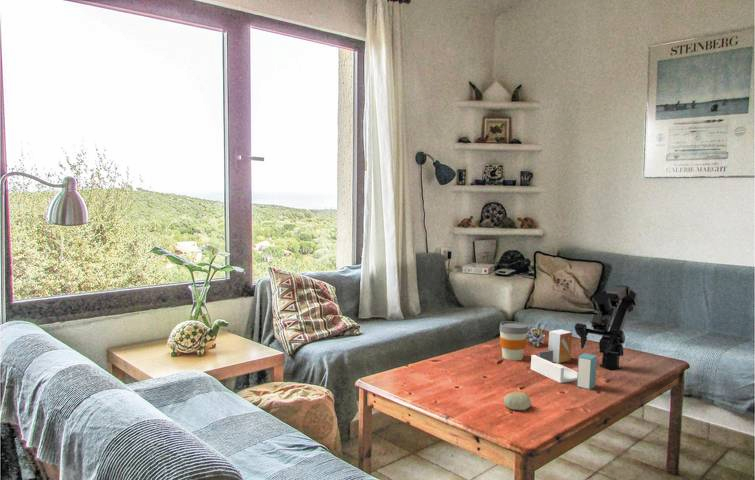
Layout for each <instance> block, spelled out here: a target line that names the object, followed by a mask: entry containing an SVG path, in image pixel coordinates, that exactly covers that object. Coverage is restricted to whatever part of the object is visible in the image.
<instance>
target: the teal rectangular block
mask: <svg viewBox="0 0 755 480" xmlns="http://www.w3.org/2000/svg"><path fill="white" fill-rule="evenodd" d="M597 359H598V356H597V355H595V354H590V353H585V352H584V353H581V354H580V355H578V356H577V372H578V374H577V380H576V387H577V388H581V389H583V390H584V389H585V390H588V391H590V390H592V389H593V388H594V387H596V377H597Z"/></svg>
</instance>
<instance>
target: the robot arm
mask: <svg viewBox="0 0 755 480" xmlns="http://www.w3.org/2000/svg"><path fill="white" fill-rule="evenodd" d="M593 300H594V304H595V306H596V309H597V311H598V313H597V314H591V316H590V322H589V323H591V327H592V328H591V327H587V324H586V323H580V322H577V323H575V325H574V330H575V333H576V335H577V336H579V338H580V345H581V346H580V348H581V349H582V350H583V349H584V347H585V345H586V342H587V339H588V337H587V336H588V334H590V335H591V334H593V335H597V336H601V338H600V339H599V341H598V342H599V343H598V344H599V345H598V346H599V347H598V348H599V353H602V357H601V363H600V364H599V367H602V368H604V369H607V370H609V371H613V370H614V371H615V370H620V369H621V370H622V366H620V357H622V356H624V352H625V351H624V350H625V349H624V346H623V344H625V341H626V336H625V333H624V331H623V329H624V326H625V324H626V320H627V318H628V315H629V313H631V312H632V311H634V310H635V308H636V306H637V305H638V301H639V300H638V295H637V293H636V292H635V291H633V290H632V289H631V287H630V286H628V285H622V284H621V285H620V284H619V285H617V286H616V288H615V289H612V291H606V290H601V292H599V293H596V294H595V295H594V297H593ZM614 308H617V309H616V312H615V309H614Z"/></svg>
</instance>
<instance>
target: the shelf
mask: <svg viewBox="0 0 755 480" xmlns="http://www.w3.org/2000/svg"><path fill="white" fill-rule="evenodd" d="M537 354H538V355H536V354H531V355H530V356H531V357H530V359H531V360H530V370H531V371H534V372H536V373H538V374H541V375H542V376H544V377H547V378H549V379H551V380H553V381H555V382H558V383H559V384H562V383H563V384H564V383H568V382H575V381H576V382H577V374H578V370H574V369H572V368H569V367H567V366H565V365H562V364H561V363H557V362H553V351H552V350H549V351H548V350H542V351H537Z"/></svg>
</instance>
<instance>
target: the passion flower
mask: <svg viewBox="0 0 755 480" xmlns="http://www.w3.org/2000/svg"><path fill="white" fill-rule="evenodd" d="M526 337H527V342H529V343H531V345H532V346H533V347H534V346H535V347H536V348H538V347H540V344H544V340H543V339H544V338H545V337H546V336H545V334H543V332H542V328H539V327H537V325H535V326H534V325H532V324H530V323H529V324H528V333H527V336H526Z"/></svg>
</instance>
